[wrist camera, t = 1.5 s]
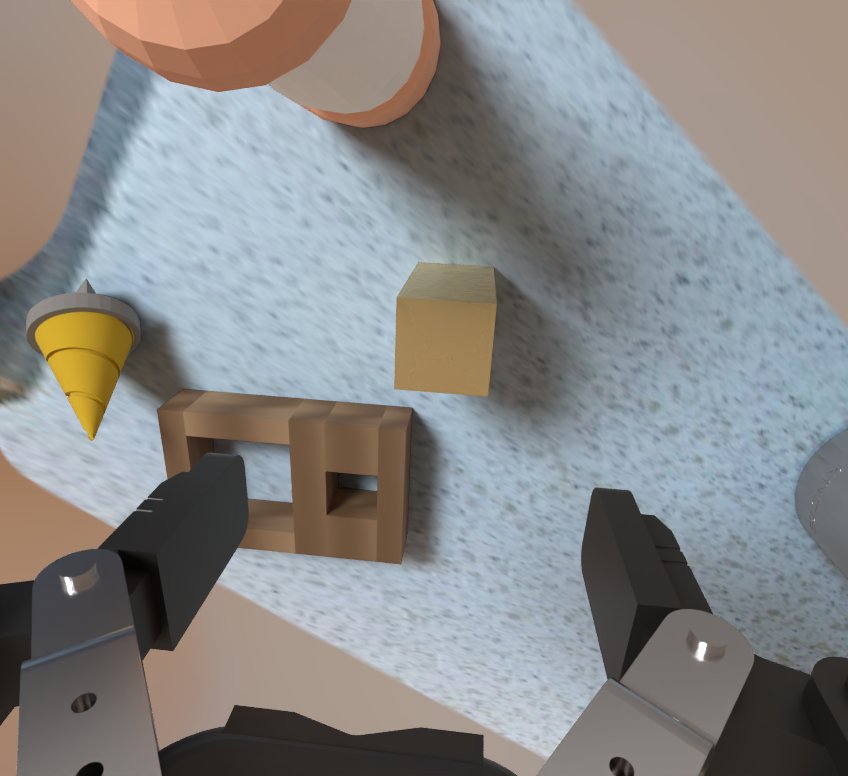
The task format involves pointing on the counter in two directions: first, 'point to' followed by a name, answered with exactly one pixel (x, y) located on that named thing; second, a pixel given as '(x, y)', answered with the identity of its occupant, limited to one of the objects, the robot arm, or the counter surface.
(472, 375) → the tan square peg
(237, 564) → the counter surface
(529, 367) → the counter surface
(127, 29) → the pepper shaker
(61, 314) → the drill bit
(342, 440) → the bore block
